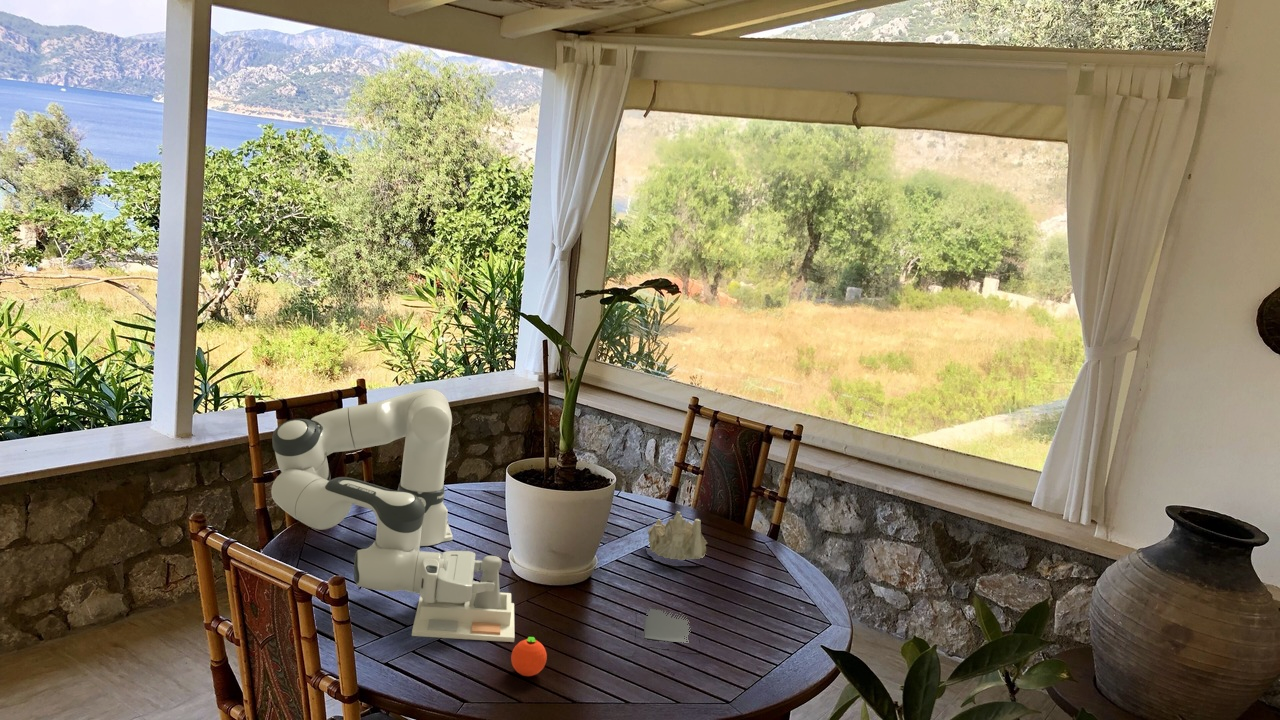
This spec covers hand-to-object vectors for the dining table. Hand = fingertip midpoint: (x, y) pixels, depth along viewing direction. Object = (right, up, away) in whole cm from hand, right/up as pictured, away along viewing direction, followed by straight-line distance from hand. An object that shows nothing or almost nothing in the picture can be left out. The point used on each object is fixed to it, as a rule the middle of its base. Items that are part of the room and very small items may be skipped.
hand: (494, 577), depth 199 cm
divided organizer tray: (-6, -9, -1) cm, 11 cm away
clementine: (+9, -14, -20) cm, 26 cm away
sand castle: (+42, -8, +55) cm, 70 cm away
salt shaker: (-2, -8, +1) cm, 9 cm away
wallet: (+38, -15, +8) cm, 41 cm away
